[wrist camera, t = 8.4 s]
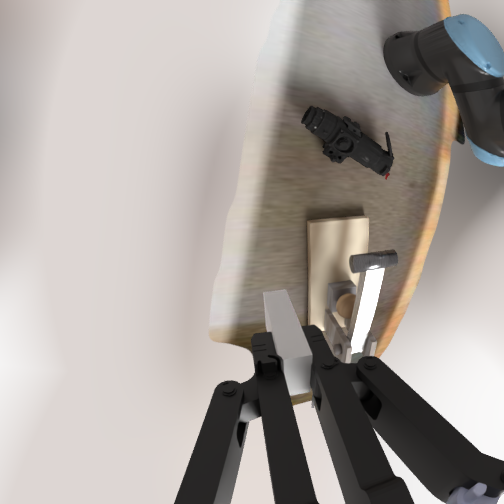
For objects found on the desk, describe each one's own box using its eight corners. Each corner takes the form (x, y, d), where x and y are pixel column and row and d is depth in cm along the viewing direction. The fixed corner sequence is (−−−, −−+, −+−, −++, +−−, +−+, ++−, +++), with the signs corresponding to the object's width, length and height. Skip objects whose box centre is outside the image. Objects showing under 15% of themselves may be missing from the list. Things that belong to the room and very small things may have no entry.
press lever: (390, 246, 38) (399, 255, 35) (367, 339, 48) (372, 349, 46) (350, 251, 37) (357, 261, 35) (334, 347, 48) (338, 357, 46)
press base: (364, 215, 51) (407, 238, 37) (357, 318, 59) (385, 359, 45) (306, 220, 50) (336, 247, 36) (307, 327, 58) (327, 374, 44)
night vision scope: (295, 121, 46) (323, 80, 38) (370, 166, 50) (402, 135, 42) (291, 143, 42) (324, 98, 34) (374, 193, 46) (411, 160, 38)
